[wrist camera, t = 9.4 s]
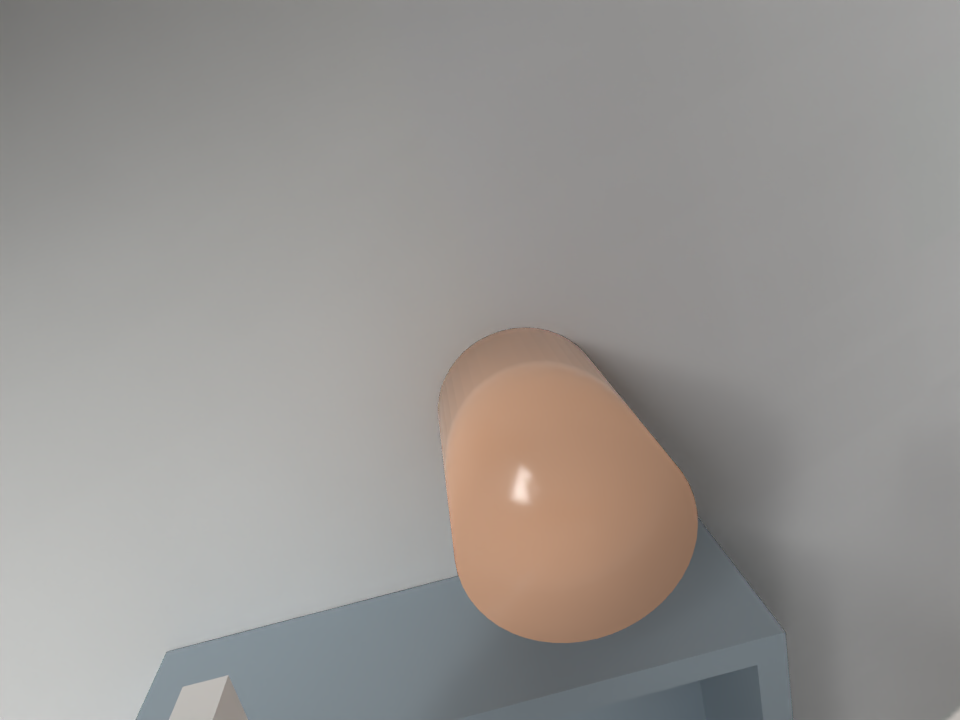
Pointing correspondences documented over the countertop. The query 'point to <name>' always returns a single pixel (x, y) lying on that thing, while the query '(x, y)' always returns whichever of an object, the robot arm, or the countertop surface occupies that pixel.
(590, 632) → the capsule
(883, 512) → the countertop surface
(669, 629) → the tote
